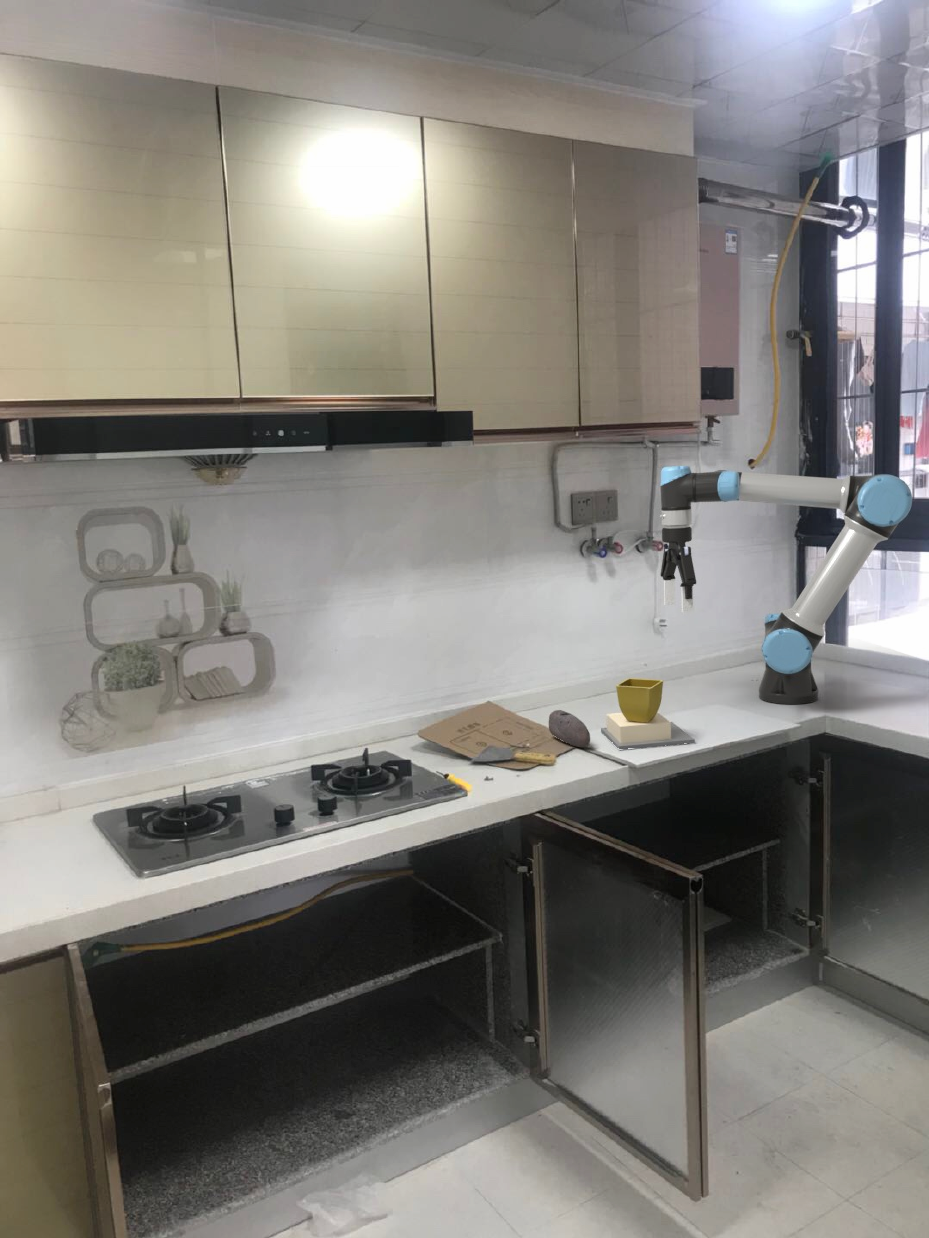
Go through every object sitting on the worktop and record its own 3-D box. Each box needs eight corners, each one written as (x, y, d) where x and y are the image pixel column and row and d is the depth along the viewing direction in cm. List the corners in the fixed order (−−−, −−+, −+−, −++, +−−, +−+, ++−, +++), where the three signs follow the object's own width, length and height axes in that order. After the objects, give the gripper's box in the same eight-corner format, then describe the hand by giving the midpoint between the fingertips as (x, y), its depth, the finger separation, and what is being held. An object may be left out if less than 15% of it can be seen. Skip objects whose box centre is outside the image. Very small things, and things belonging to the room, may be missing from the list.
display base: (671, 725, 236) (671, 705, 235) (694, 743, 220) (694, 722, 219) (601, 731, 234) (600, 712, 233) (619, 750, 218) (618, 729, 217)
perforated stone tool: (598, 749, 220) (596, 720, 219) (578, 753, 218) (577, 724, 217) (566, 734, 234) (564, 707, 233) (547, 738, 232) (545, 710, 231)
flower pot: (629, 713, 230) (628, 677, 229) (664, 716, 226) (663, 679, 224) (616, 723, 223) (615, 685, 221) (652, 726, 218) (651, 688, 217)
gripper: (647, 524, 257) (649, 602, 260) (679, 530, 232) (680, 615, 236) (674, 523, 258) (676, 600, 261) (708, 528, 233) (710, 613, 236)
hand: (678, 608), depth 248 cm, fingers open, 13 cm apart
